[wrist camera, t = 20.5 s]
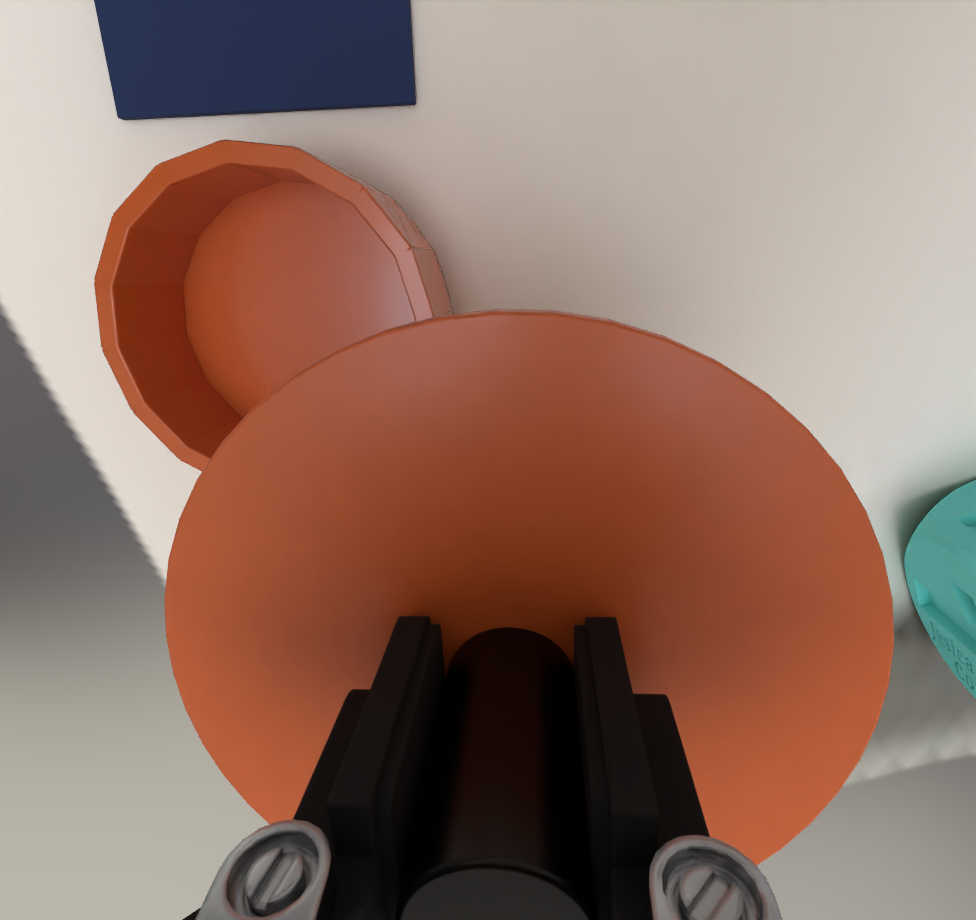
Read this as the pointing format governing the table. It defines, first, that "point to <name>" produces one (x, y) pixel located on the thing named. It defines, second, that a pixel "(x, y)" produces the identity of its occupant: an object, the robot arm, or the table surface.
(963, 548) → the decorative dice
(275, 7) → the towel
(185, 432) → the pot
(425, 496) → the pot lid
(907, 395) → the table surface
